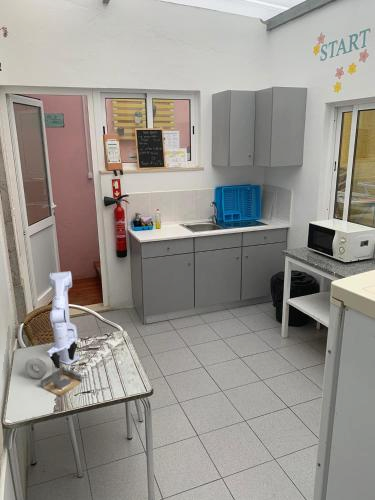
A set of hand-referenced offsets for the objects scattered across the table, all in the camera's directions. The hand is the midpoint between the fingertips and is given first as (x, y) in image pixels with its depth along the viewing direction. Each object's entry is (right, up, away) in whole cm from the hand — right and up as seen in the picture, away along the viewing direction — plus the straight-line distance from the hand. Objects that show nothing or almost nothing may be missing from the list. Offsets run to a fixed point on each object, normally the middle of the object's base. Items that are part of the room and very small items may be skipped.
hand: (64, 363), depth 168 cm
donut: (-14, -9, +6) cm, 18 cm away
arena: (-1, -10, 0) cm, 10 cm away
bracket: (-1, -9, -1) cm, 9 cm away
